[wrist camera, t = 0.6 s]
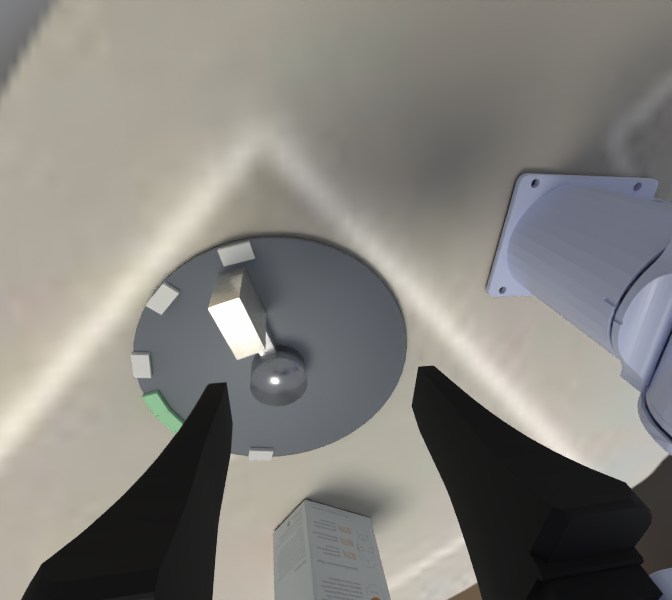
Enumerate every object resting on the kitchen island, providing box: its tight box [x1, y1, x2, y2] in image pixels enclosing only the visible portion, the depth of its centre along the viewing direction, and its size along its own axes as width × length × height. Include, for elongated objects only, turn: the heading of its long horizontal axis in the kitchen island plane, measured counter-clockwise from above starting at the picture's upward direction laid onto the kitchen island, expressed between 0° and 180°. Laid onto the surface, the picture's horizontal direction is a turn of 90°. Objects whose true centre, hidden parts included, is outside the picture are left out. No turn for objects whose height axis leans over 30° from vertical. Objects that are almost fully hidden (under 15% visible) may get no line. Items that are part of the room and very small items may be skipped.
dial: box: [131, 236, 407, 460], centre depth 25 cm, size 18×18×1 cm
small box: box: [273, 500, 391, 600], centre depth 31 cm, size 8×6×10 cm
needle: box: [208, 266, 307, 406], centre depth 22 cm, size 9×4×4 cm, turn 16°
